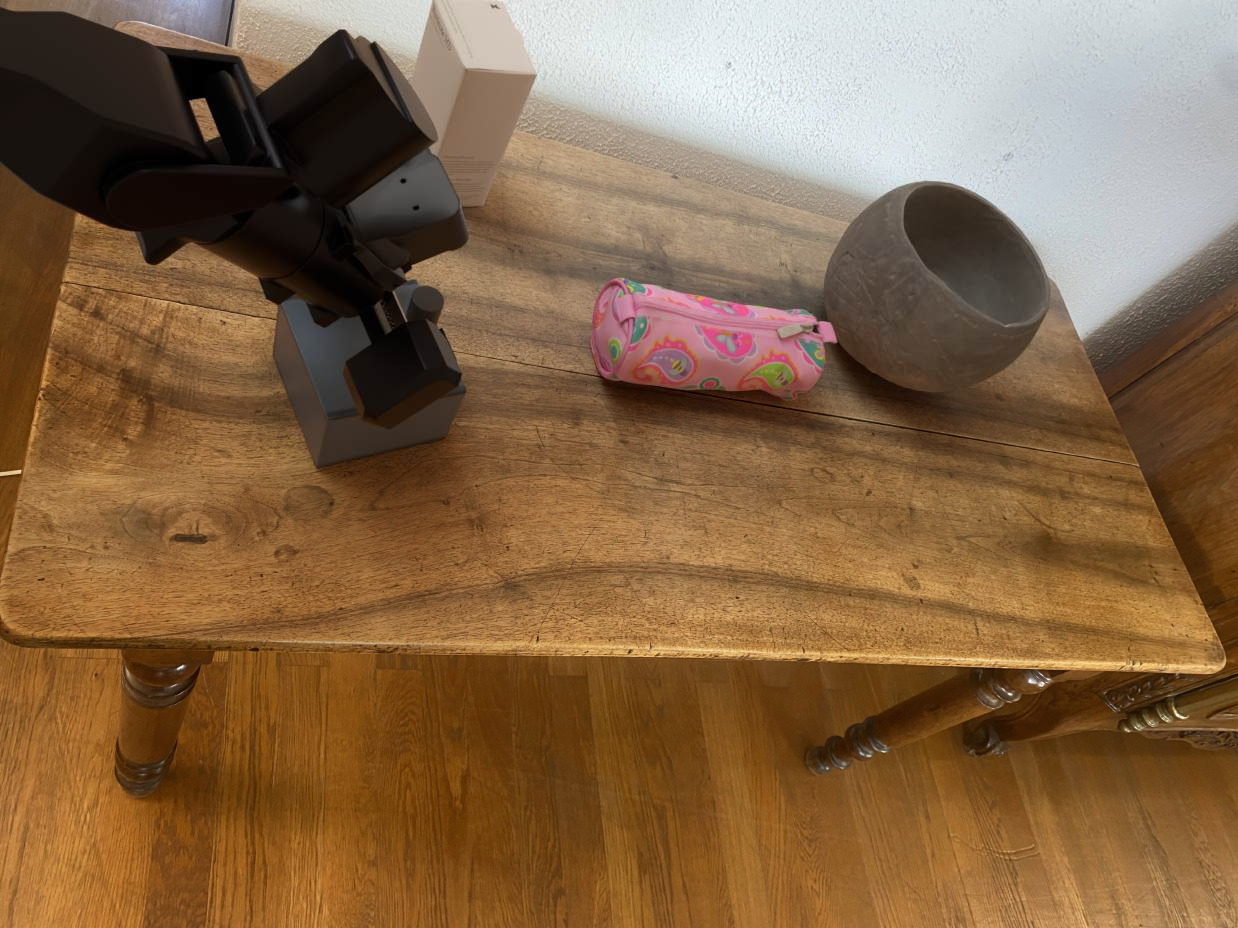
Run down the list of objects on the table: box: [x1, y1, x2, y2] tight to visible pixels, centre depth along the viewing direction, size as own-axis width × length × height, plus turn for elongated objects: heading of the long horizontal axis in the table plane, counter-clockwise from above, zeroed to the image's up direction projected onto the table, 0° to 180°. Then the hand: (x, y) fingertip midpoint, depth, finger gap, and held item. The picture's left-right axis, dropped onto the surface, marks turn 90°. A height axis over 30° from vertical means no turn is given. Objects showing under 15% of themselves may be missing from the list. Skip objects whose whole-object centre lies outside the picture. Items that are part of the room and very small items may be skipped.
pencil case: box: [589, 277, 838, 402], centre depth 78 cm, size 21×9×9 cm, turn 99°
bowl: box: [822, 180, 1052, 393], centre depth 88 cm, size 21×21×15 cm
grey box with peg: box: [272, 279, 468, 469], centre depth 62 cm, size 12×10×10 cm
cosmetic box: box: [409, 0, 538, 208], centre depth 75 cm, size 8×7×16 cm
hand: (430, 321), depth 61 cm, fingers open, 9 cm apart
